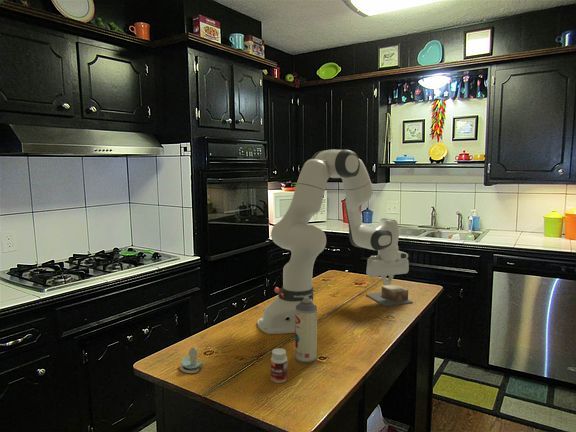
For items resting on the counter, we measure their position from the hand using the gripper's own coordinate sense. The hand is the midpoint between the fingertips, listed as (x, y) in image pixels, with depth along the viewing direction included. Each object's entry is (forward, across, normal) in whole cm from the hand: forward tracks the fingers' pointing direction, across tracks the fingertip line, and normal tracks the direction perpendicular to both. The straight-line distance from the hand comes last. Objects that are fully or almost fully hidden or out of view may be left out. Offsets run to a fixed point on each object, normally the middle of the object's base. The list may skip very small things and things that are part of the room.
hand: (387, 284), depth 186 cm
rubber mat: (+7, +1, 0) cm, 7 cm away
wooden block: (+4, 0, 0) cm, 4 cm away
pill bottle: (+7, -68, -49) cm, 84 cm away
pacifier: (+7, -91, -34) cm, 97 cm away
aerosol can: (+7, -56, -40) cm, 69 cm away
